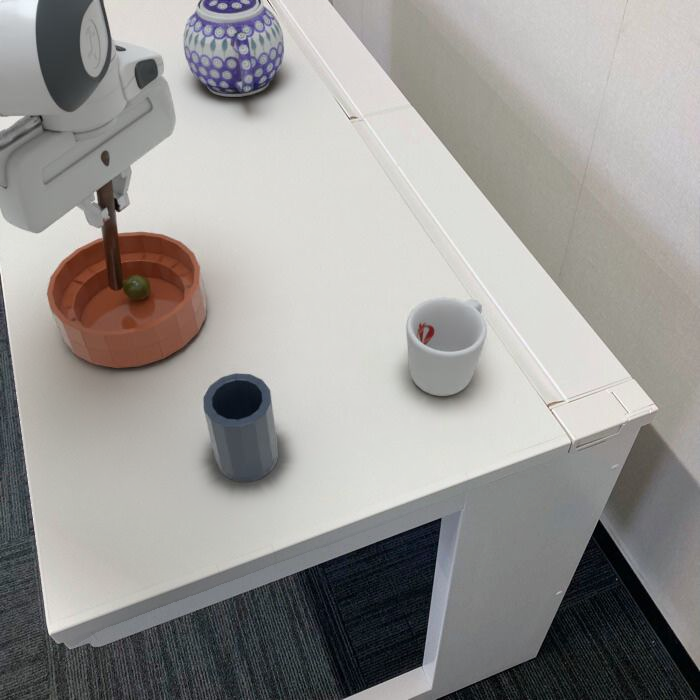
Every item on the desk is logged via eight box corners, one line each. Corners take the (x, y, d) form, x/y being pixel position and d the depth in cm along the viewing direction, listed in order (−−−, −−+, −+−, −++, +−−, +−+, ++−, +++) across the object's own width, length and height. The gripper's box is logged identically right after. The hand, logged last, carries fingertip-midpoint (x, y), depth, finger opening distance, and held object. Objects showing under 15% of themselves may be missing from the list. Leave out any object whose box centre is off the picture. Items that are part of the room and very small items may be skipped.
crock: (255, 492, 73) (245, 437, 66) (203, 465, 75) (189, 408, 68) (290, 447, 76) (284, 389, 69) (240, 421, 78) (229, 364, 72)
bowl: (144, 394, 81) (131, 356, 76) (32, 337, 86) (14, 298, 82) (235, 300, 90) (229, 261, 86) (129, 254, 96) (118, 215, 91)
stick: (115, 296, 86) (98, 155, 70) (106, 288, 87) (86, 146, 71) (127, 289, 87) (112, 148, 71) (117, 280, 88) (100, 139, 72)
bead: (141, 305, 87) (159, 292, 89) (129, 282, 86) (148, 269, 88) (124, 305, 89) (143, 293, 91) (113, 282, 87) (132, 270, 89)
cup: (441, 323, 87) (447, 270, 81) (503, 354, 84) (515, 301, 78) (388, 383, 82) (390, 331, 76) (453, 418, 78) (461, 367, 72)
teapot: (298, 117, 116) (292, 19, 105) (196, 129, 114) (179, 30, 103) (274, 39, 133) (267, -53, 121) (184, 49, 131) (168, -44, 119)
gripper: (7, 157, 60) (57, 286, 70) (174, 48, 72) (196, 173, 82) (-48, 135, 62) (8, 263, 73) (122, 33, 74) (150, 156, 84)
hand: (109, 214), depth 78 cm, fingers closed on stick, 1 cm apart
